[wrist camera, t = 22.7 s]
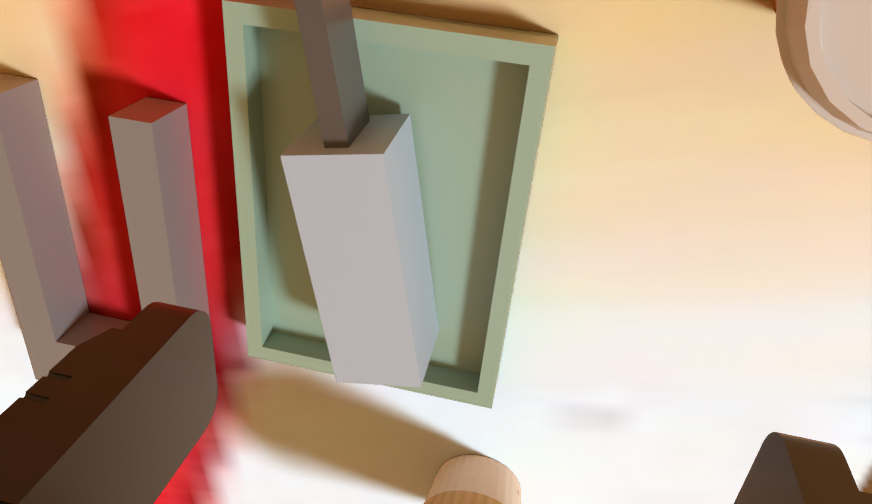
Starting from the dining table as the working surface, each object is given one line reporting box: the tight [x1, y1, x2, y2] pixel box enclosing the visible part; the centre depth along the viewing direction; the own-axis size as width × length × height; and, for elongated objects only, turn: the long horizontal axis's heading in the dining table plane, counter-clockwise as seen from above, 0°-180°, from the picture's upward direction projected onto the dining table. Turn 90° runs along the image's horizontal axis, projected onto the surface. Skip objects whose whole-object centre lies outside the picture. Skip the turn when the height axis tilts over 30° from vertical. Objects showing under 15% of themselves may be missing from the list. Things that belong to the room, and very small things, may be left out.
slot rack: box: [0, 73, 210, 380], centre depth 42 cm, size 21×12×4 cm, turn 175°
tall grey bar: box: [280, 0, 439, 387], centre depth 34 cm, size 22×5×5 cm, turn 6°
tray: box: [222, 0, 558, 408], centre depth 37 cm, size 22×16×2 cm
